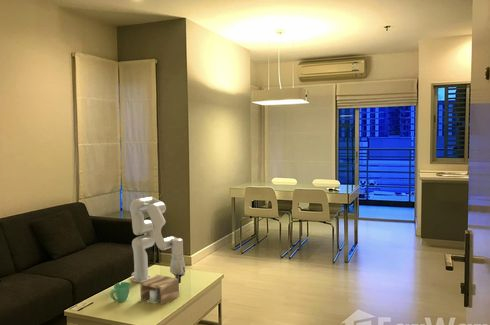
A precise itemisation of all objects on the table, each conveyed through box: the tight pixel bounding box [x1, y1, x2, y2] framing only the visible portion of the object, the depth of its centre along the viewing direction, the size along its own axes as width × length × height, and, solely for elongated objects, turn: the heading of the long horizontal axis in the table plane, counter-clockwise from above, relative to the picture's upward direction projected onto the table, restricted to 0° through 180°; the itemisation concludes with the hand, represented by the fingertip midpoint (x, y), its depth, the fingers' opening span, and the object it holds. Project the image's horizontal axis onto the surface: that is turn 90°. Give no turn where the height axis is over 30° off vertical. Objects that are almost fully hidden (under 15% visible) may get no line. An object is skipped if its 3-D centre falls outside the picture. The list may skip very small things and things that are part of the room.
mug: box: [109, 281, 131, 302], centre depth 255 cm, size 15×10×10 cm
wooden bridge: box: [139, 274, 180, 306], centre depth 260 cm, size 18×16×12 cm
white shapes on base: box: [146, 288, 161, 305], centre depth 262 cm, size 7×20×8 cm, turn 153°
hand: (178, 283), depth 276 cm, fingers closed
